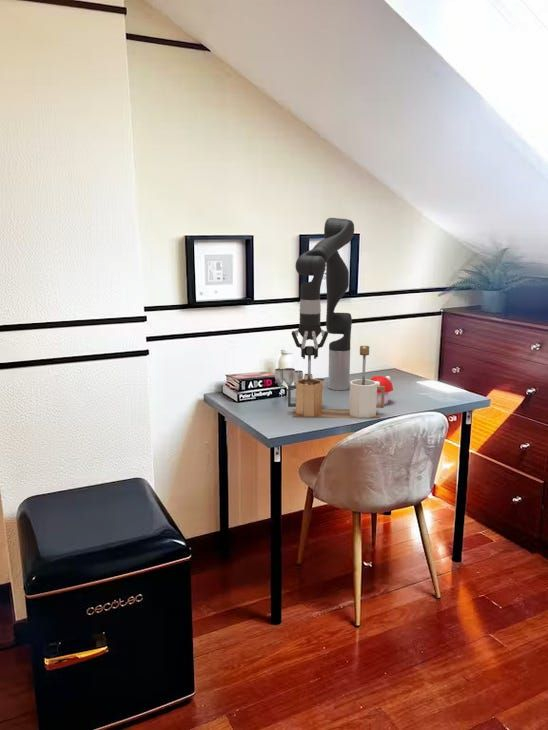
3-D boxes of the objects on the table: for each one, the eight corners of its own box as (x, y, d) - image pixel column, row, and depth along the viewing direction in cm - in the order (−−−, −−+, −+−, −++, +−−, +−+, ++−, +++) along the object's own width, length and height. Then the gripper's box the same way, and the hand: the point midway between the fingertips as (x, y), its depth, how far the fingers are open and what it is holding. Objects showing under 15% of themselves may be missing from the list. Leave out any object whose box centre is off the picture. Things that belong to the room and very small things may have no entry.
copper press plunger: (300, 387, 232) (300, 344, 228) (317, 387, 232) (318, 345, 228) (300, 392, 226) (300, 348, 222) (318, 392, 225) (319, 348, 222)
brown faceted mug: (288, 409, 236) (288, 378, 233) (321, 409, 235) (321, 378, 232) (287, 416, 226) (287, 385, 224) (322, 417, 226) (322, 385, 223)
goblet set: (271, 397, 256) (271, 366, 253) (281, 395, 260) (281, 364, 257) (317, 412, 235) (318, 379, 232) (328, 410, 239) (329, 376, 236)
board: (292, 411, 236) (292, 408, 236) (376, 412, 235) (376, 409, 235) (292, 420, 226) (292, 417, 225) (380, 421, 225) (380, 418, 224)
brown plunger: (353, 387, 231) (354, 344, 228) (371, 387, 231) (372, 344, 227) (355, 392, 225) (356, 348, 221) (373, 392, 225) (374, 348, 221)
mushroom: (366, 408, 240) (367, 379, 238) (363, 401, 251) (364, 372, 248) (394, 409, 240) (395, 379, 237) (389, 401, 251) (390, 372, 248)
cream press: (348, 409, 235) (349, 379, 232) (381, 410, 234) (382, 379, 232) (350, 417, 225) (351, 385, 223) (385, 417, 225) (386, 386, 222)
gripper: (329, 310, 226) (328, 356, 229) (290, 310, 226) (290, 356, 230) (330, 313, 218) (329, 360, 222) (290, 313, 219) (290, 360, 223)
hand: (309, 358), depth 226 cm, fingers closed on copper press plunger, 3 cm apart
